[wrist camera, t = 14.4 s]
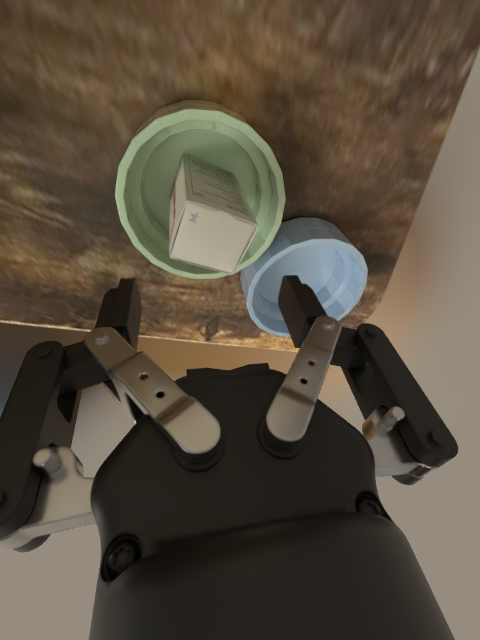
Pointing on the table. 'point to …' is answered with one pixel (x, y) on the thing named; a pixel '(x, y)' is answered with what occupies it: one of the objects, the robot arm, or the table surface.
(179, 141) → the bowl left
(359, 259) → the bowl right
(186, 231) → the skincare product carton
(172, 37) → the table surface
